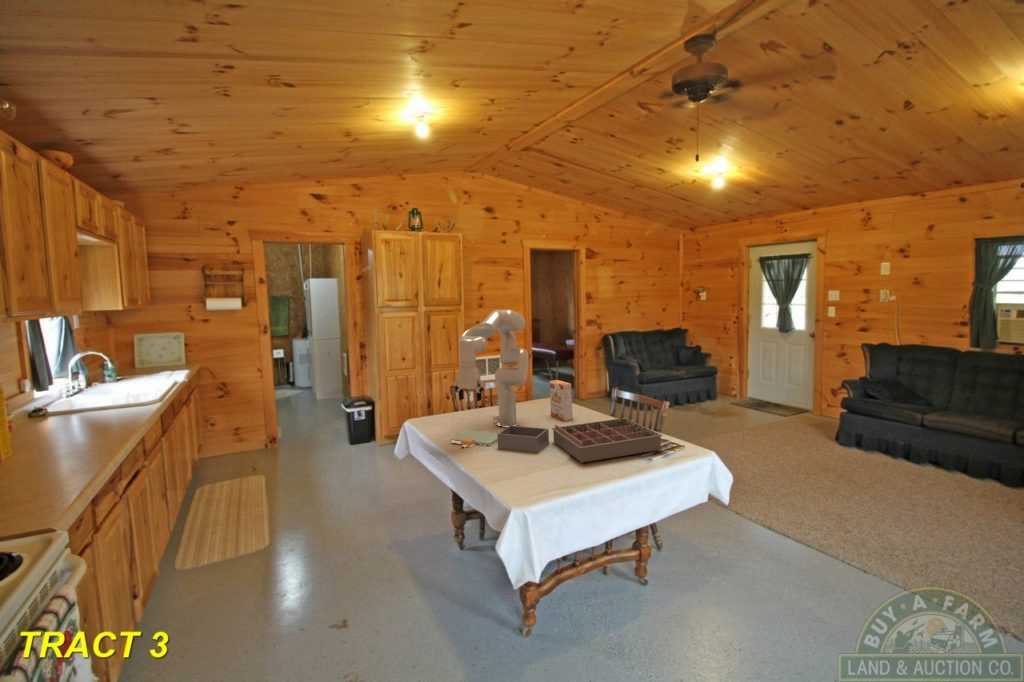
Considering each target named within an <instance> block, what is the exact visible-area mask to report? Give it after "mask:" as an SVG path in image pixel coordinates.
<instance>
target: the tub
mask: <svg viewBox="0 0 1024 682" xmlns="http://www.w3.org/2000/svg"><path fill="white" fill-rule="evenodd" d="M497 433H498V434H497V436H498V442H497V450H503V449H504V451H506V450H507V451H513V452H525V453H531V454H533V453H534V454H539V453H540V452H542V450H544V448H546V447H547V446H548V445H549V444H550V434H549V428H545V427H532V426H523V425H522V426H521V425H520V426H519V425H518V426H511V425H510V426H509V427H504V429H502V430H501V431H499V432H497Z"/></svg>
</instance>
